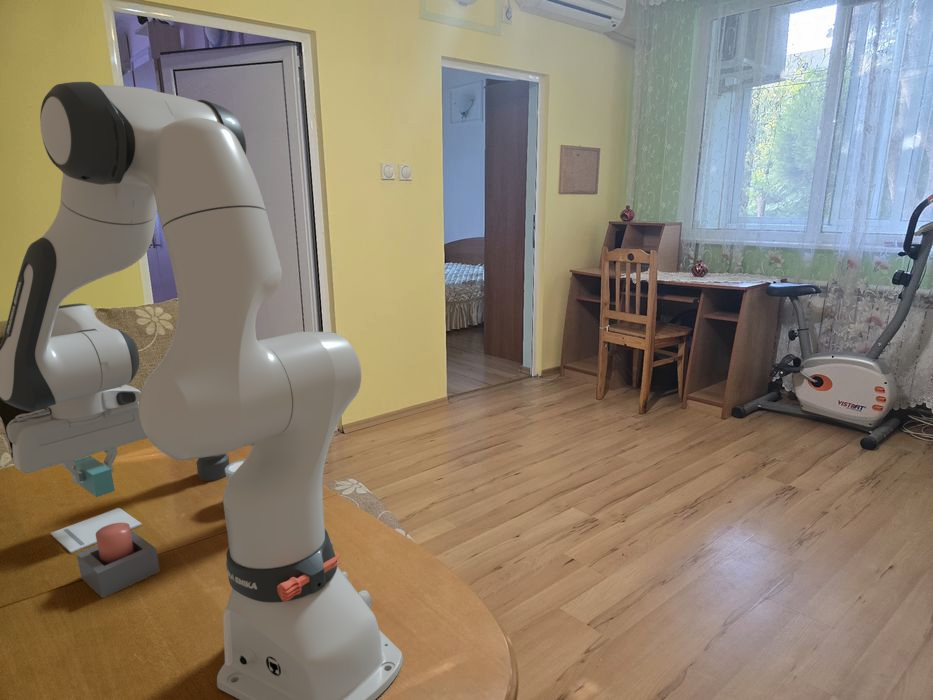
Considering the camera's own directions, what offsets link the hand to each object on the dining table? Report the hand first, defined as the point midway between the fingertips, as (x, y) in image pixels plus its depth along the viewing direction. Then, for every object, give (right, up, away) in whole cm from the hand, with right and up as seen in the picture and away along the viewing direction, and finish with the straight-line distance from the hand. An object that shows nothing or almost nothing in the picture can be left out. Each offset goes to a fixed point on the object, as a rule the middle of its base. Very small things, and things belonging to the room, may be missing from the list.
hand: (93, 477), depth 102 cm
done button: (+11, -10, -12) cm, 19 cm away
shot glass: (+22, -7, +11) cm, 26 cm away
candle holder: (+11, -4, +22) cm, 25 cm away
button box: (+11, -12, -12) cm, 20 cm away
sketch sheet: (0, -9, +1) cm, 9 cm away
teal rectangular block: (0, -2, 0) cm, 2 cm away
